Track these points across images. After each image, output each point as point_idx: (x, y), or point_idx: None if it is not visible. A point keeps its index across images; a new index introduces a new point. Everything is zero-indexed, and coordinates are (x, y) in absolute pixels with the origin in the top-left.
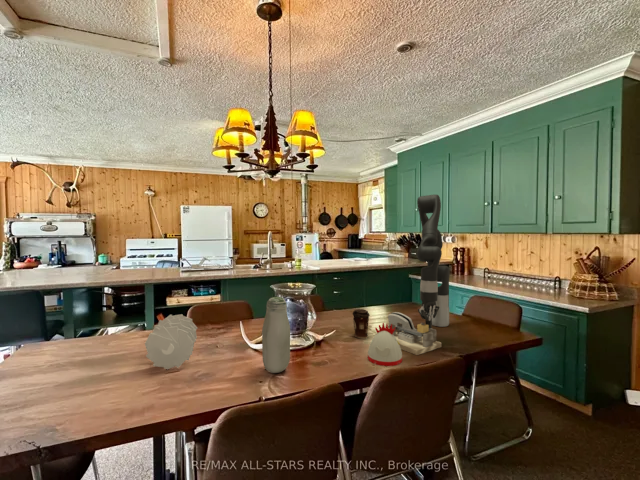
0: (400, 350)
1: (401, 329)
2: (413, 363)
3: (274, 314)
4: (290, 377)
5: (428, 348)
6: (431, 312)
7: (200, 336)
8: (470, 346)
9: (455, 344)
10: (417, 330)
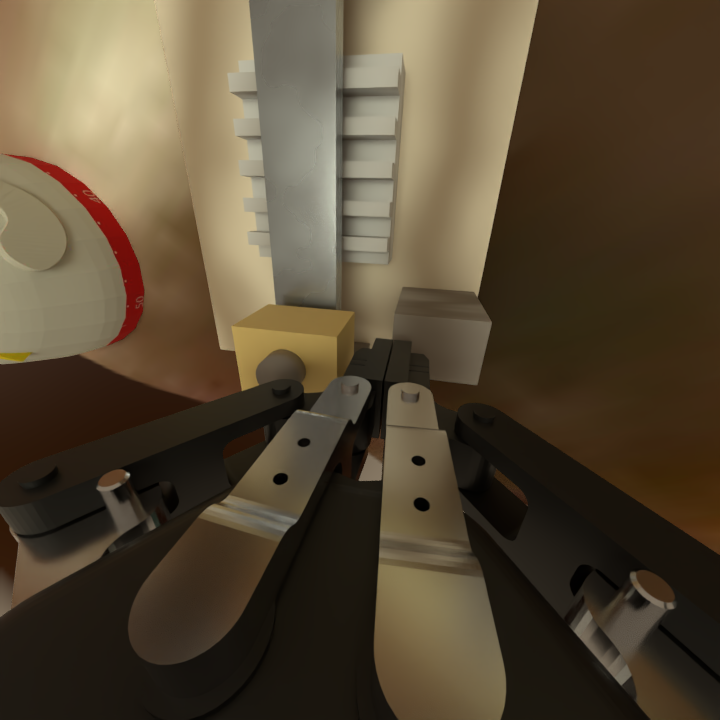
0: (66, 351)
1: (258, 49)
2: (162, 378)
3: None
4: None
5: None
6: (512, 480)
7: None
8: (602, 466)
9: (580, 399)
10: (265, 308)
